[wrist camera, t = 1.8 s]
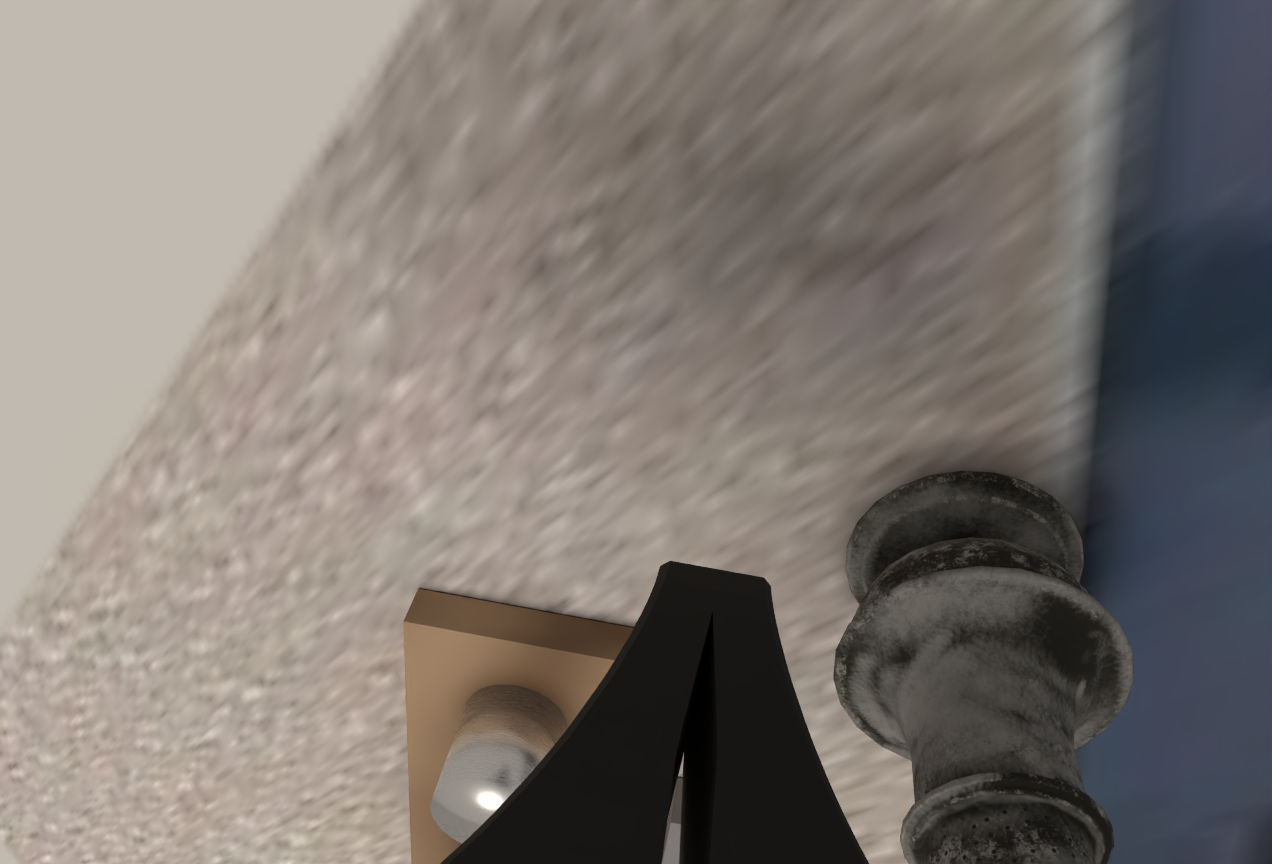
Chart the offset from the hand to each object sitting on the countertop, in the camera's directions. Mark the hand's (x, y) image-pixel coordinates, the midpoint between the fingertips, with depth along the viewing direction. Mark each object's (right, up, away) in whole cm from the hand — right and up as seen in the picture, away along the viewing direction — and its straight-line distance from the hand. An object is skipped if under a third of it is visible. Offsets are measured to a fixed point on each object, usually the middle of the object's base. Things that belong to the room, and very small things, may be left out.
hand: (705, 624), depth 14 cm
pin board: (-4, -7, +17) cm, 19 cm away
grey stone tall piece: (+7, 0, +11) cm, 13 cm away
